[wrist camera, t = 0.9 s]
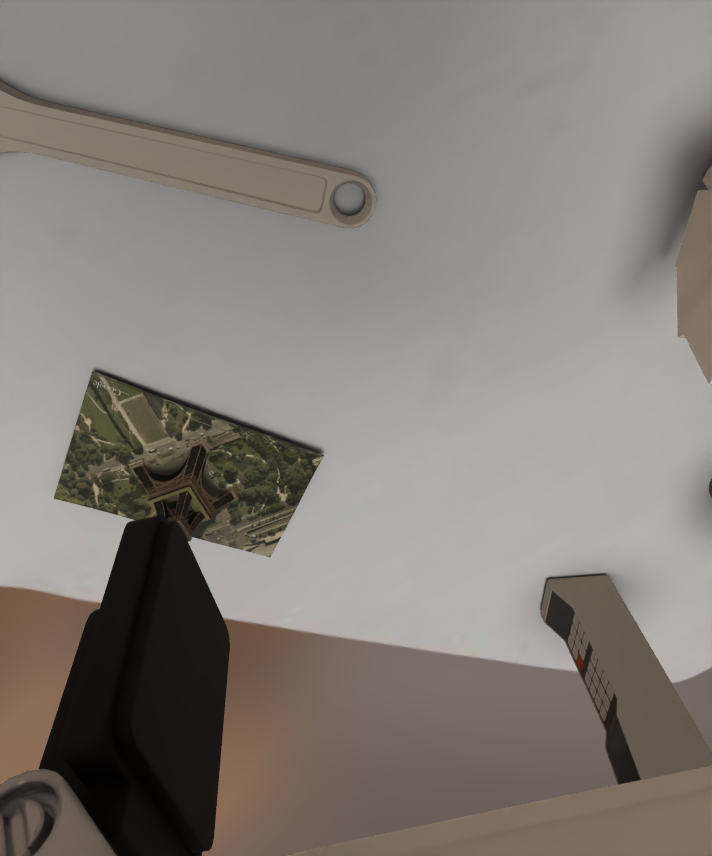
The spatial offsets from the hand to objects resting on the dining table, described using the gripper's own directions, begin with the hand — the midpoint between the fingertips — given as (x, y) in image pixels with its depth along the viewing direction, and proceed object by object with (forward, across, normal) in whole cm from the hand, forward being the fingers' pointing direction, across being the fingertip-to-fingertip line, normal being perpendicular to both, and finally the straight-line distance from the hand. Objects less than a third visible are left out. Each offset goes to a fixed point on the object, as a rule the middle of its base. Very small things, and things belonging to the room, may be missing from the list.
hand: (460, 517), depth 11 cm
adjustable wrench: (+27, +10, -4) cm, 30 cm away
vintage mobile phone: (+27, -12, +35) cm, 46 cm away
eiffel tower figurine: (+27, +13, +16) cm, 34 cm away
